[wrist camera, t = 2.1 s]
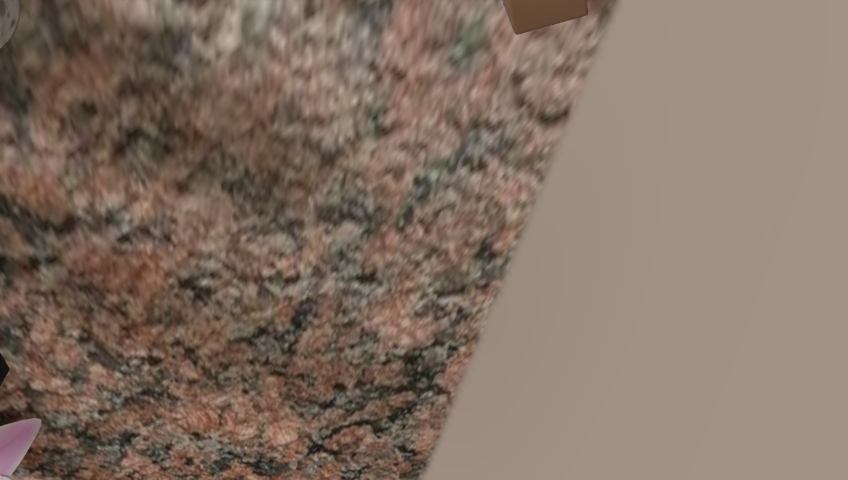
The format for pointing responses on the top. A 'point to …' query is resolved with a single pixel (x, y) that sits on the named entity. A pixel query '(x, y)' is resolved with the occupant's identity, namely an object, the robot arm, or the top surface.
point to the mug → (8, 19)
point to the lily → (16, 444)
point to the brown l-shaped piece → (542, 13)
